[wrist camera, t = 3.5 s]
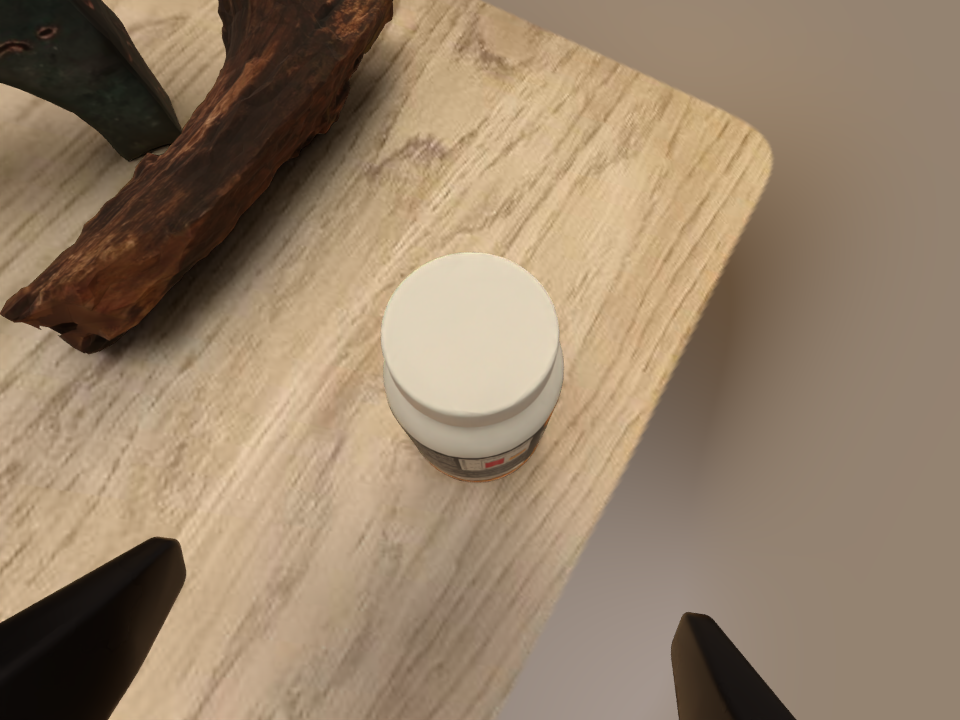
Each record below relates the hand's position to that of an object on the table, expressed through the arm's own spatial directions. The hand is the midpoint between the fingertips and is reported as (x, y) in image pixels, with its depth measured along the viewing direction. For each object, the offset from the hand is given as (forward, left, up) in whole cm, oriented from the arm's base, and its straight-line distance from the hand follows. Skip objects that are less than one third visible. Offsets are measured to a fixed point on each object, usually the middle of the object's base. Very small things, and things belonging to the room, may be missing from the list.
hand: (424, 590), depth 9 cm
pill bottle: (+4, -5, -12) cm, 14 cm away
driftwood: (+22, -6, -12) cm, 25 cm away
